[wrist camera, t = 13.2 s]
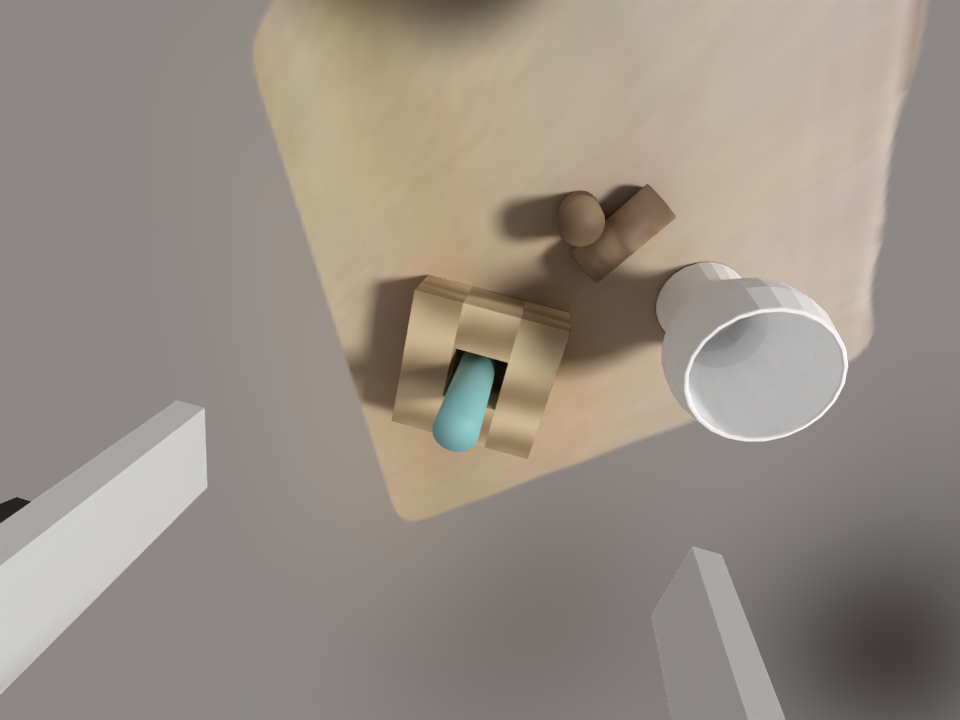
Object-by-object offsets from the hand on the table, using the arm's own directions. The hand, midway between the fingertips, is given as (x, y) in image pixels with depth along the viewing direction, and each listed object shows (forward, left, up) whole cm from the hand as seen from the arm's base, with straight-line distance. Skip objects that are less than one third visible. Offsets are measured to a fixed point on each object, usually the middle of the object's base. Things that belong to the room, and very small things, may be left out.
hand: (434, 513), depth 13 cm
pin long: (+12, -1, -35) cm, 37 cm away
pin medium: (0, +6, -33) cm, 34 cm away
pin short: (-4, +4, -35) cm, 35 cm away
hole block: (+12, -1, -35) cm, 37 cm away
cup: (+1, +17, -35) cm, 39 cm away
